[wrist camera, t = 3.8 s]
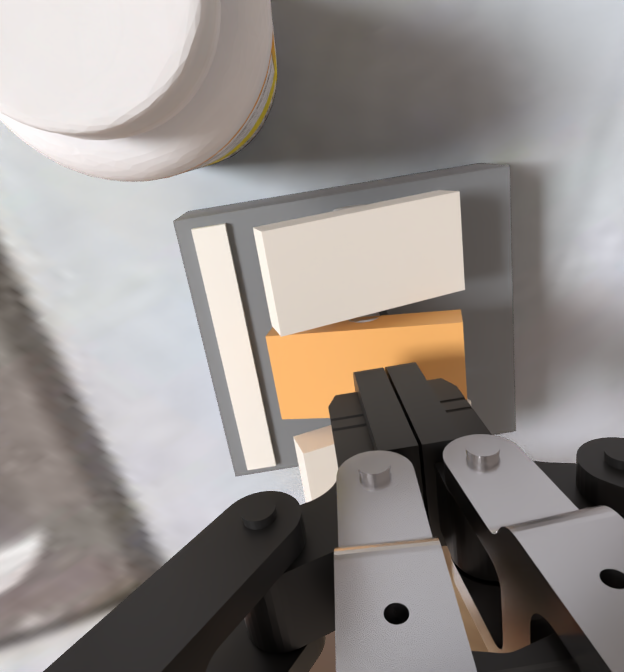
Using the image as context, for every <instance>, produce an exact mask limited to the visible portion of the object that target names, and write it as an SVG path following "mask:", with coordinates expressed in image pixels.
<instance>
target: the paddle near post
mask: <svg viewBox="0 0 624 672" xmlns="http://www.w3.org/2000/svg"><path fill="white" fill-rule="evenodd" d="M467 401H468V402H469V404H470V405H471V400H469V399H468V398H467ZM293 438H294V443H295V449H296V454H297V459H298V464H299V469H300V474H301V480H302V485H303V490H304V495H305V500H306V503H307V502H309V501H312V500H314V499H316V498H318V497H320V496H321V495H323V494H324V493H326V492H327V491H328V490H329V489H330V488H331V487H332V486H333V485H334V484H335V482H336V475H337V471H338V464H337V458H336V452H335V446H334V440H333V434H332V427H331V425H329V426H326V427H323V428H320V429H316V430H313V431H310V432H307V433H303V434H300V435H297V436H293Z"/></svg>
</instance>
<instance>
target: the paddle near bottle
mask: <svg viewBox="0 0 624 672" xmlns="http://www.w3.org/2000/svg"><path fill="white" fill-rule="evenodd" d="M253 231H254V236H255V242H256V247H257V252H258V257H259V262H260V267H261V273H262V278H263V283H264V288H265V293H266V298H267V304H268V309H269V314H270V319H271V324H272V327H273V328H274V329H275V330H276V331H277V332H278V334H279V335H280V336H281V337H282V336H286V335H290V334H294V333H298V332H302V331H306V330H310V329H314V328H317V327H321V326H325V325H329V324H333V323H337V322H341V321H345V320H349V319H353V318H356V317H360V316H364V315H368V314H372V313H376V312H380V311H384V310H388V309H392V308H395V307H399V306H403V305H407V304H411V303H415V302H419V301H423V300H427V299H431V298H435V297H438V296H442V295H446V294H450V293H454V292H458V291H462V290H465V281H464V263H463V245H462V227H461V208H460V191H446V190H437V191H432V192H427V193H422V194H417V195H412V196H407V197H402V198H397V199H392V200H387V201H382V202H377V203H372V204H367V205H352V206H346V207H341V208H337V209H334V210H333V211H332V212H327V213H322V214H317V215H312V216H307V217H303V218H298V219H293V220H288V221H283V222H278V223H273V224H268V225H263V226H258V227H253Z"/></svg>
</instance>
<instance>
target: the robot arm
mask: <svg viewBox="0 0 624 672" xmlns="http://www.w3.org/2000/svg"><path fill="white" fill-rule="evenodd" d="M353 378H354V386H355V392H352V393H346V394H340V395H335V396H334V398H333V400H332V401H331V403H330V405H329V406H328V409H329V415H330V421H331V427H332V434H333V440H334V446H335V452H336V458H337V464H338V471H337V475H336V482H335V484H334V485H333V486H332V487H331V488H330V489H329V490H328V491H327V492H326V493H324V494H323V495H321V496H320V497H318V498H316V499H314V500H312V501H309V502H307V503H304V504H302V505H299V503H298V501H297V500H296V499H295V498H294V497H292V496H291V495H288V494H286V493H283V492H277V491H265V492H259V493H254V494H251V495H248V496H246V497H244V498H242V499H240V500H238V501H236V502H235V503H234V504H232V505H231V506H230V507H229V508H228V509H226V510H225V511H224V512H223V513H222V514H221V515H220V516H218V517H217V518H216V519H215V520H214V521H213V522H212V523H211V524H209V525H208V526H207V527H206V528H205V529H204V530H203V531H202V532H200V533H199V534H198V535H197V536H196V537H195V538H194V539H192V540H191V541H190V542H189V543H188V544H187V545H186V546H185V547H183V548H182V549H181V550H180V551H179V552H178V553H177V554H176V555H174V556H173V557H172V558H171V559H170V560H169V561H168V562H166V563H165V564H164V565H163V566H162V567H161V568H160V569H159V570H157V571H156V572H155V573H154V574H153V575H152V576H151V577H150V578H148V579H147V580H146V581H145V582H144V583H143V584H142V585H141V586H139V587H138V588H137V589H136V590H135V591H134V592H133V593H131V594H130V595H129V596H128V597H127V598H126V599H125V600H124V601H122V602H121V603H120V604H119V605H118V606H117V607H116V608H115V609H113V610H112V611H111V612H110V613H109V614H108V615H107V616H105V617H104V618H103V619H102V620H101V621H100V622H99V623H98V624H96V625H95V626H94V627H93V628H92V629H91V630H90V631H89V632H87V633H86V634H85V635H84V636H83V637H82V638H81V639H79V640H78V641H77V642H76V643H75V644H74V645H73V646H72V647H70V648H69V649H68V650H67V651H66V652H65V653H64V654H63V655H61V656H60V657H59V658H58V659H57V660H56V661H55V662H53V663H52V664H51V665H50V666H49V667H48V668H47V669H46V670H44V671H43V672H309V670H310V669H311V667H312V666H313V665H314V663H315V662H316V660H317V659H318V657H319V656H320V654H321V652H322V650H323V647H324V644H325V638H326V637H325V635H327V634H329V633H331V632H333V631H335V639H336V672H624V438H616V437H608V438H599V439H594V440H591V441H588V442H587V443H585V444H583V445H582V446H581V447H580V448H579V449H578V451H577V457H576V464H573V463H548V462H538V461H532V460H531V458H530V457H529V456H528V455H527V454H526V453H525V452H524V451H523V450H522V449H521V448H520V447H519V446H518V445H517V444H515V443H514V442H512V441H510V440H508V439H506V438H503V437H500V436H495V435H492V434H491V433H490V431H489V430H488V429H487V427H486V426H485V424H484V423H483V422H482V420H481V419H480V418H479V416H478V415H477V413H476V412H475V411H474V409H472V408H471V405H470V404H469V402H468V401H467V400H466V399H465V397H464V395H463V394H462V393H461V391H460V390H459V389H458V387H457V386H456V385H454V384H452V383H450V382H448V381H446V380H444V379H442V378H438V379H432V380H426V378H425V376H424V375H423V373H422V372H421V370H420V368H419V367H418V365H417V363H416V362H412V363H406V364H400V365H394V366H387V367H385V370H384V368H383V367H382V368H376V369H370V370H363V371H357V372H353ZM442 546H447V547H448V549H449V552H450V554H451V565H452V576H453V580H454V582H455V585H456V587H457V589H458V591H459V593H460V595H461V597H462V599H463V601H464V603H465V605H466V607H467V609H468V611H469V613H470V615H471V617H472V619H473V621H474V623H475V625H476V627H477V629H478V631H479V633H480V635H481V637H482V639H483V641H484V643H485V645H486V647H487V649H488V651H489V652H482V651H471V648H470V645H469V641H468V638H467V634H466V631H465V627H464V624H463V620H462V617H461V613H460V610H459V606H458V603H457V599H456V596H455V592H454V589H453V585H452V582H451V578H450V575H449V571H448V568H447V564H446V561H445V557H444V554H443V550H442Z"/></svg>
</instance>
